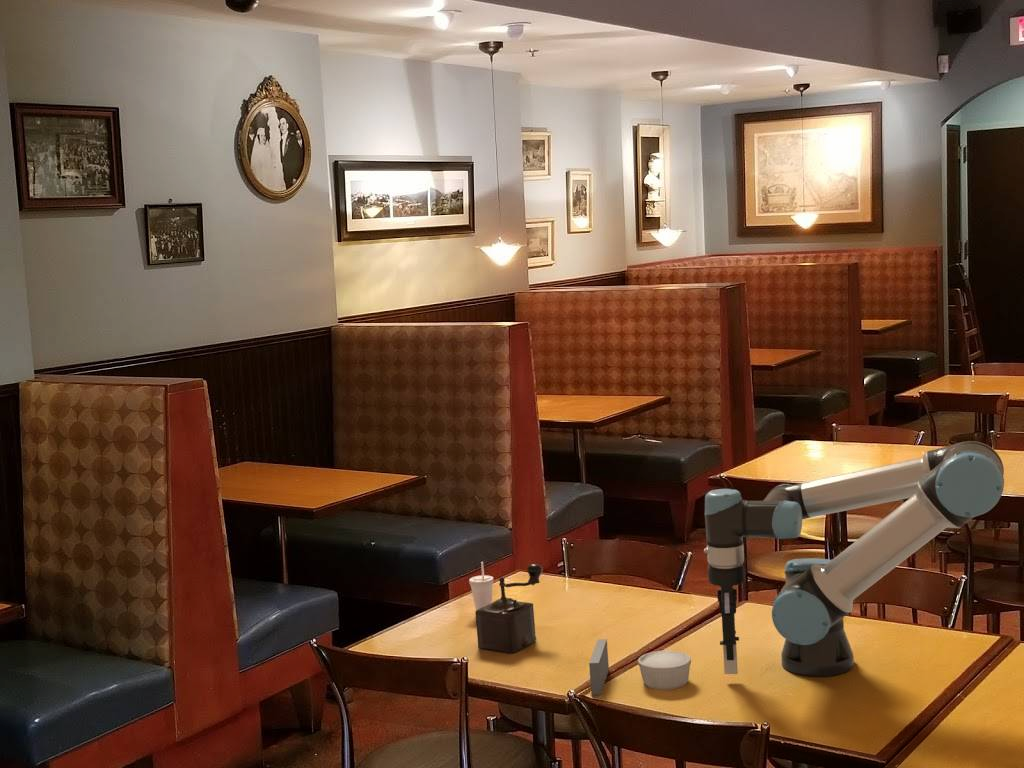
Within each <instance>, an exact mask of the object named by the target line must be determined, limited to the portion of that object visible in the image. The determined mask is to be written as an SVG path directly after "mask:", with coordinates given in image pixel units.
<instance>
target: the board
mask: <svg viewBox="0 0 1024 768" xmlns="http://www.w3.org/2000/svg"><path fill="white" fill-rule="evenodd" d="M588 665H589V679H590V680H589V681H590V692H591V693H590V694H591V696H602V693H603V689H604V686H605V684H604V683H606V681H605V680H606V679H607V677H608V674H609V671H610V668H609V665H610V664H609V653H608V639H606V638H598V639H597V641H596V643H595V647H594V649H593V652H592V654H591V657H590V660H589V662H588Z"/></svg>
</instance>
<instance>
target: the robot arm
mask: <svg viewBox="0 0 1024 768" xmlns="http://www.w3.org/2000/svg"><path fill="white" fill-rule="evenodd" d="M1004 469H1005V468H1004V464H1003V461H1002V459H1001V456H1000V455H999V454H998V451H996V450H995V449H994V448H993V447H991V446H990V445H988V444H985V443H983V442H980V441H975V440H973V441H972V440H968V441H962V442H958V443H954V444H951V445H950V444H949V445H947V446H942V447H940V448H935V449H932V450H930V449H929V450H926V451H925V452H924V454H923V455H922V457H918V458H913V459H908V460H904V461H900V462H899V461H897V462H894V463H891V464H890V463H889V464H885V465H880V466H875V467H872V468H871V467H870V468H868V469H862V470H857V471H851V472H848V473H843V474H838V475H833V476H830V477H824V478H820V479H816V480H811V481H806V482H802V483H797V484H791V483H790V484H789V483H781V484H779V485H777V486H775V487H774V488H771V490H770V491H769V492H768V494H767V495H766V497H765V498H764V499H763V500H746V499H743V497H742V495H741V492H740V491H739V490H737V489H732V488H719V489H712V490H710V491H708V492H707V493H705V496H704V521H705V537H706V547H705V548H704V549H703V553H705V554H707V556H706V557H707V563H708V565H707V580H708V583H710V584H711V585H713V586H716V587H717V586H718V587H720V588H717V592H716V593H717V601H718V606H719V614H721V624H722V626H721V627H722V629H721V630H722V640H719V645H720V646H722V648H723V652H722V653H723V669H724V675H738V673H739V671H738V670H739V669H738V654H737V653H738V652H737V641H738V642H740V637H739V636H736V634H737V631H736V618H735V617H736V613H737V600H738V599H737V598H738V590H737V589H738V588H734V586H739V585H742V584H743V583H744V582H745V580H746V579H745V576H746V575H745V574H746V573H745V565H744V562H745V553H744V552H745V551H744V549H745V547H744V538H766V539H780V540H785V539H797V538H799V536H800V535H801V533H802V529H803V528H802V527H803V520H807V519H812V518H815V517H821V516H825V515H830V514H835V513H841V512H845V511H850V510H856V509H860V508H865V507H871V506H874V505H875V506H876V505H880V504H886V503H887V504H888V503H890V502H896V501H900V500H901V501H902V500H906V499H907V500H906V501H904V502H902V504H900V505H899V506H898V507H897V508H896V509H894V510H893V511H892V512H891V513H889V514H888V515H886V517H884V518H883V519H882V520H880V521H879V522H878V523H877V524H875V525H874V526H873V527H872V528H870V529H869V530H868V531H867V532H865V533H864V534H863V535H861V536H860V537H859V538H857V540H855V541H854V542H853V543H851V544H850V545H849V546H848V547H846V548H845V549H844V550H843V551H841V552H840V553H838V554H837V556H835V557H834V558H832V559H827V558H815V557H814V558H813V557H812V558H809V557H808V558H793V559H789V560H788V561H787V562H786V563H785V568H784V575H785V584H784V585H783V587H782V588H781V590H780V592H779V593H778V594H777V596H776V597H775V599H774V600H773V603H772V609H771V618H772V619H771V620H772V623H773V625H774V627H775V629H776V630H777V632H778V633H779V635H780V636H782V637H783V638H784V639H785V640H784V644H783V647H782V650H781V654H780V655H781V666H782V667H783V669H785V670H787V671H788V672H791V673H792V674H796V675H802V676H809V677H810V676H811V677H828V676H829V677H830V676H836V675H841V674H844V673H847V672H850V671H851V670H852V669H853V668H854V665H855V659H854V658H855V657H854V652H853V649H852V646H851V644H850V641H849V639H848V636H847V633H846V632H845V627H844V623H845V622H844V618H845V617H846V616H847V615H849V614H850V613H851V612H852V611H853V607H854V604H853V603H854V600H855V599H856V598H858V597H859V596H860V595H861V594H863V593H864V592H865V591H867V590H868V589H870V588H871V587H872V586H873V585H875V584H876V583H877V582H878V581H879V580H880V579H882V578H883V577H884V576H886V575H887V574H889V573H890V572H891V571H893V570H894V569H895V568H897V567H898V566H899V565H900V564H901V563H903V562H904V561H905V560H907V559H908V558H909V557H910V556H912V555H913V554H915V553H916V552H917V551H919V549H921V548H922V547H923V546H925V545H926V544H927V543H929V542H930V541H932V540H933V539H934V538H935V537H936V536H938V535H939V534H940V533H942V532H943V531H944V530H945V529H947V528H948V529H949V528H952V529H960V528H961V527H963V526H964V525H965V524H967V523H969V522H970V521H971V520H972V519H973V518H975V517H978V516H981V515H984V514H986V513H988V512H989V511H991V510H992V509H994V507H995V506H996V505H997V504H998V502H999V501H1000V498H1001V497H1002V495H1003V492H1004V488H1005V478H1004V474H1005V473H1004V472H1005V471H1004Z"/></svg>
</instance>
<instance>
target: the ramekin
mask: <svg viewBox="0 0 1024 768" xmlns="http://www.w3.org/2000/svg"><path fill="white" fill-rule="evenodd" d="M691 663H692V659H691V656H690V655H688V654H687V653H685V652H682V651H677V650H657V651H651V652H648V653H644V654H643V655H641V656H640V657H638V659H637V665H638V667H639V670H640V673H641V678H642V681H643V683H644V685H646V686H647V687H649V688H650V689H654V690H660V691H661V690H663V691H664V690H665V691H666V690H667V691H668V690H675V689H678V688H681V687H684V686H685V685H686V684H687V683H688V681H689V679H690V669H691Z"/></svg>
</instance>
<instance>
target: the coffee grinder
mask: <svg viewBox="0 0 1024 768" xmlns="http://www.w3.org/2000/svg"><path fill="white" fill-rule="evenodd" d="M526 572H527V573H528V577H529V579H528V581H527V582H511V583H505V578H504V577H499V578H498V581H499V583H498V586H499V587H500V592H501V595H500V596H501V597H500V598H499V599H496V600H495V601H492V603H491V604H489V605H487V606H485V607H482V608H480V609H478V610H476V609H475V621H476V623H475V624H476V634H477V648H478V649H480V650H484V651H492V652H497V653H503V654H510V655H511V654H512V655H514V654H515V653H517V652H519V651H521V650H523V649H525V648H527V647H528V646H530V645H531V644H533V643H535V641H537V637H536V624H535V613H534V612H535V611H534V602H533V603H532V602H525V601H517V599H513V598H512V597H506V592H505V590H506V589H505V588H512V587H527V586H531V585H532V586H534V585H536V584H540V583H541V582H540V576H541V575H542V573H543V572H544V570H543V567H542V566H541V565H540V564H538V563H531V564H529V565H528V566H527V568H526Z"/></svg>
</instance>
